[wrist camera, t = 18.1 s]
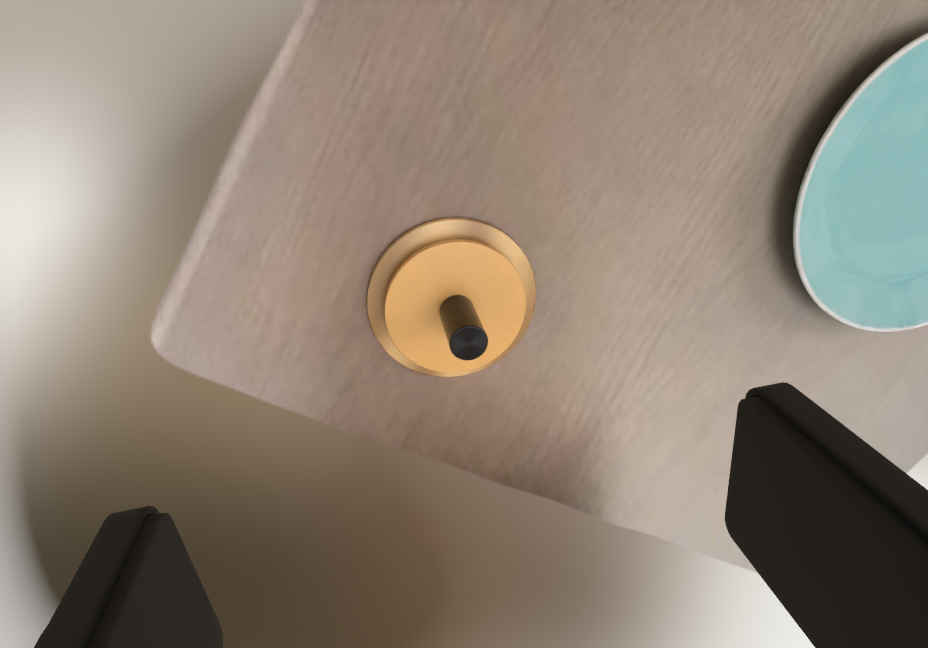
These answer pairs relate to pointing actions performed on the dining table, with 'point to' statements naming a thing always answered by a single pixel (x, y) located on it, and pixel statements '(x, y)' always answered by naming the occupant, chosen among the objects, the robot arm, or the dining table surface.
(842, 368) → the dining table surface
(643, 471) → the dining table surface
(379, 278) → the coaster
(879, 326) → the plate
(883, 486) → the robot arm
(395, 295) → the shaker lid
